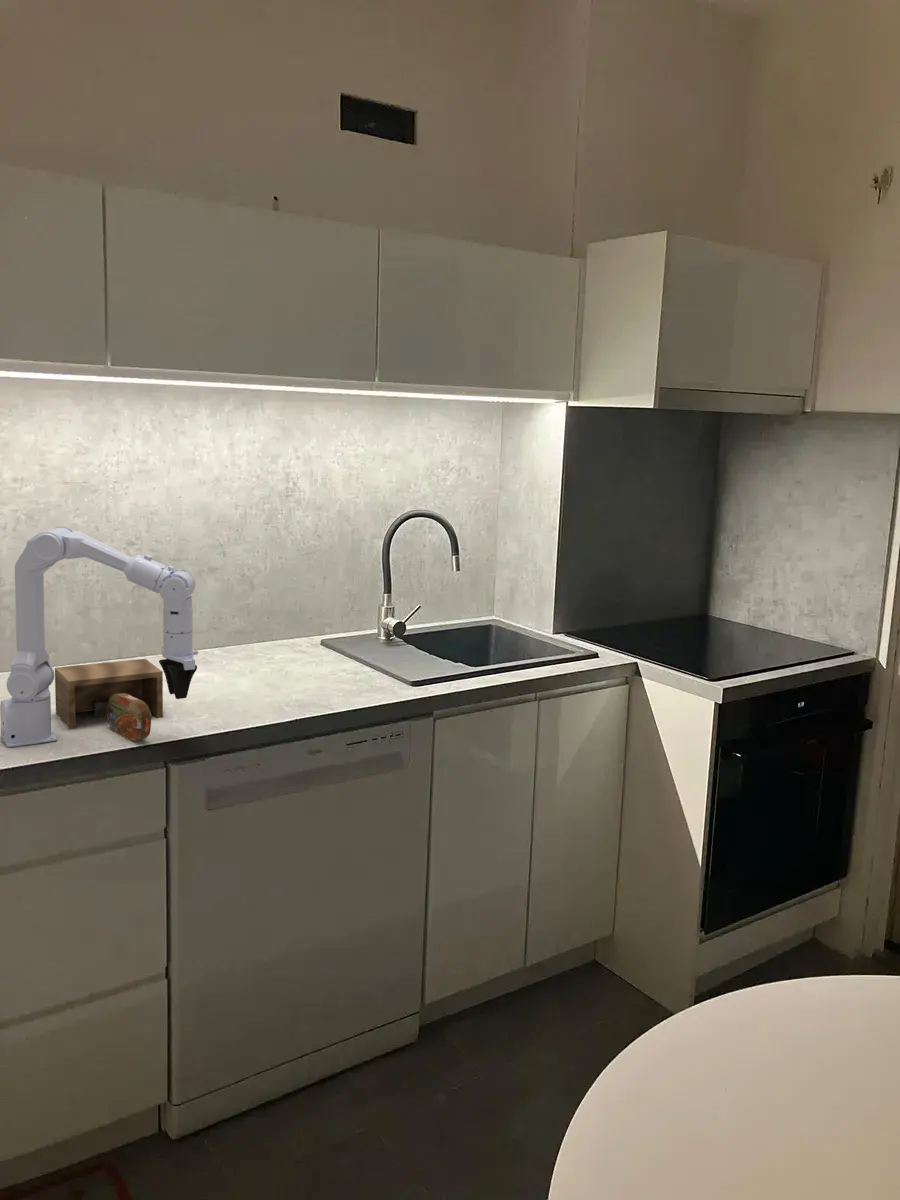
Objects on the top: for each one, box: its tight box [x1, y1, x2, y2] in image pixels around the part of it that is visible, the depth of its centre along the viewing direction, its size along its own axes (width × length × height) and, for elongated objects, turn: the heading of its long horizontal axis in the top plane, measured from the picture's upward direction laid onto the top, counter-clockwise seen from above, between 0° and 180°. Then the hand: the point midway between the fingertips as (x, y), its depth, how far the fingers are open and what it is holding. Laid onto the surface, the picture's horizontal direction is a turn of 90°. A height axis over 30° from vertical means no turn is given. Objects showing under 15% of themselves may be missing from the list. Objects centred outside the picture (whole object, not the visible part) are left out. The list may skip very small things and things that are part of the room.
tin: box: [106, 693, 152, 742], centre depth 212 cm, size 15×3×8 cm, turn 45°
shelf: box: [54, 658, 164, 730], centre depth 223 cm, size 20×12×10 cm, turn 124°
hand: (178, 695), depth 206 cm, fingers open, 3 cm apart
